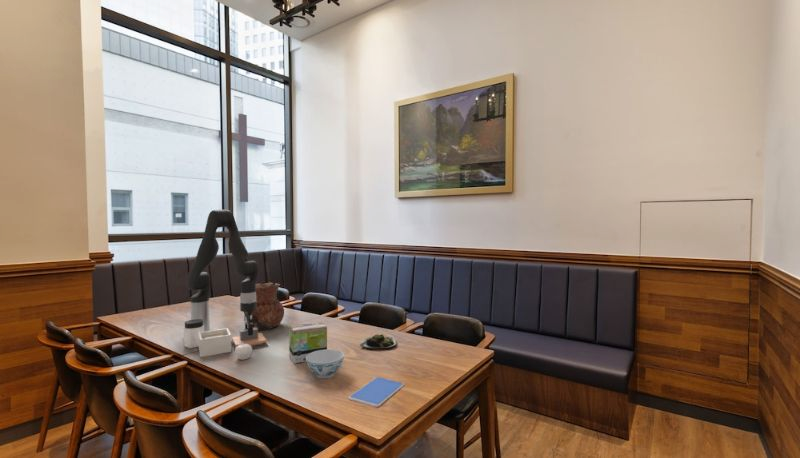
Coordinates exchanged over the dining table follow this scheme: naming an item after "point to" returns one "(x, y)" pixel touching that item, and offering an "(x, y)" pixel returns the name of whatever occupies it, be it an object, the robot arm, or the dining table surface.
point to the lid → (249, 338)
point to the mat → (253, 346)
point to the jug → (267, 307)
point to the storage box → (214, 342)
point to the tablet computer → (376, 391)
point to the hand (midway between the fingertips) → (248, 333)
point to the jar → (192, 332)
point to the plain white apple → (243, 351)
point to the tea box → (306, 340)
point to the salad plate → (378, 343)
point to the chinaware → (325, 362)
